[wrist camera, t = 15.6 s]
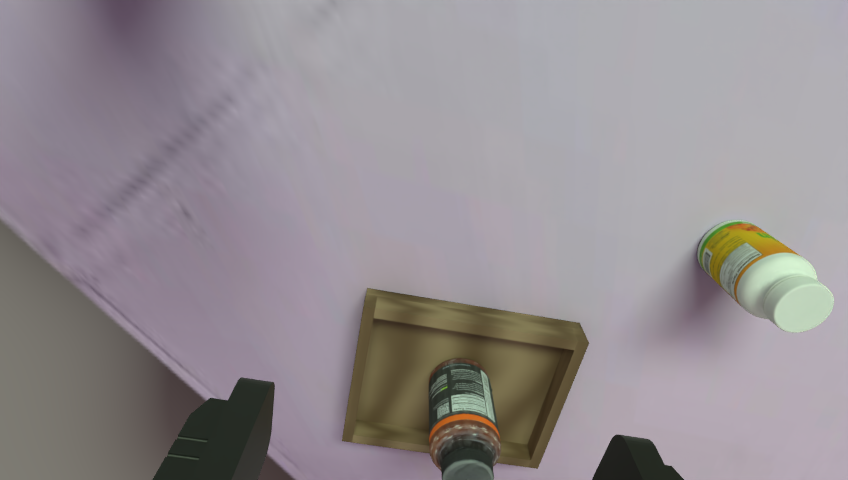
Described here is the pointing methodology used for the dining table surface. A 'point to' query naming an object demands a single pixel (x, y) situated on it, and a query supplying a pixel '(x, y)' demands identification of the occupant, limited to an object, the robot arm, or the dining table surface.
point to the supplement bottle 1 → (462, 421)
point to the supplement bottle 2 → (765, 276)
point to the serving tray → (459, 338)
